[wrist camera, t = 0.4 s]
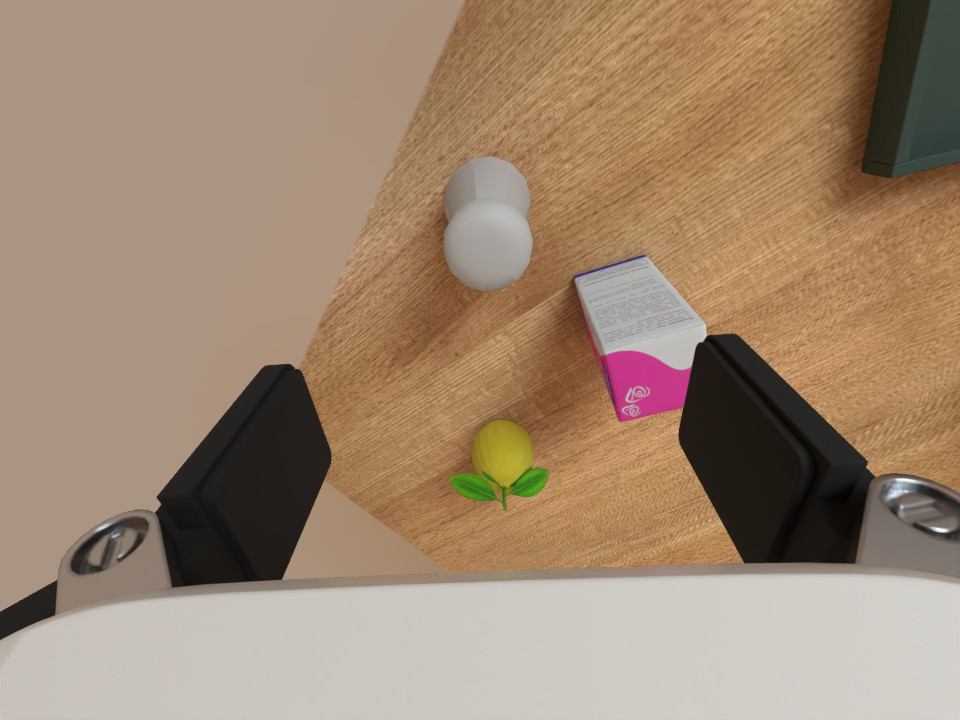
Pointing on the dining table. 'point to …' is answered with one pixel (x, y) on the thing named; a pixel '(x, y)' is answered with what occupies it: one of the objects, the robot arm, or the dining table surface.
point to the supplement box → (639, 336)
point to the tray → (917, 91)
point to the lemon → (501, 465)
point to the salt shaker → (487, 224)
